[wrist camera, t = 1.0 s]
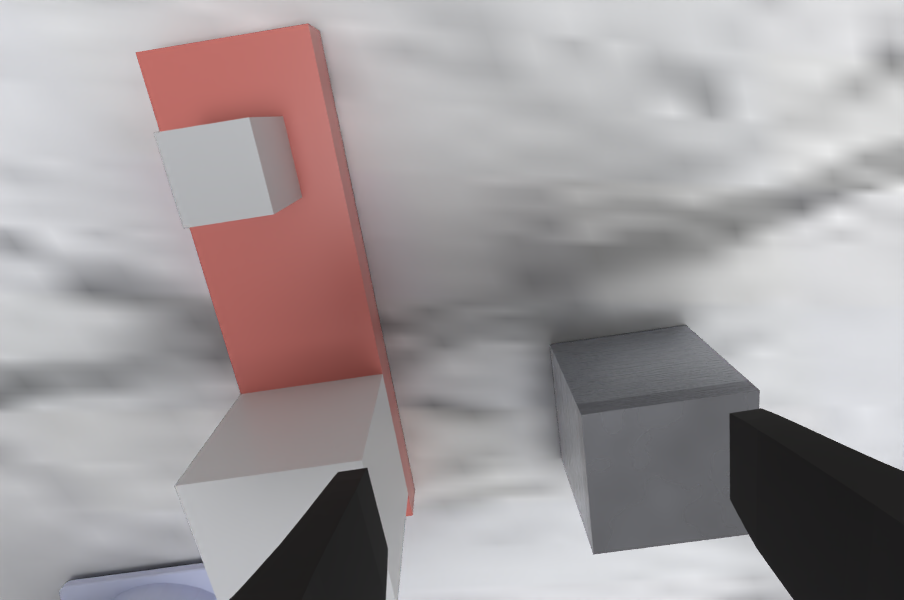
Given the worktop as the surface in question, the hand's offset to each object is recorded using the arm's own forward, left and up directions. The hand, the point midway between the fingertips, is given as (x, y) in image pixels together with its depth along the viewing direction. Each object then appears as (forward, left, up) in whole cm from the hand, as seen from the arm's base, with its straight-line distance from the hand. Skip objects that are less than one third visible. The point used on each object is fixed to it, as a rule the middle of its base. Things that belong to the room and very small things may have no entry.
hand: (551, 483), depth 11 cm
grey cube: (-4, -4, -10) cm, 11 cm away
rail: (+2, +7, -10) cm, 12 cm away
